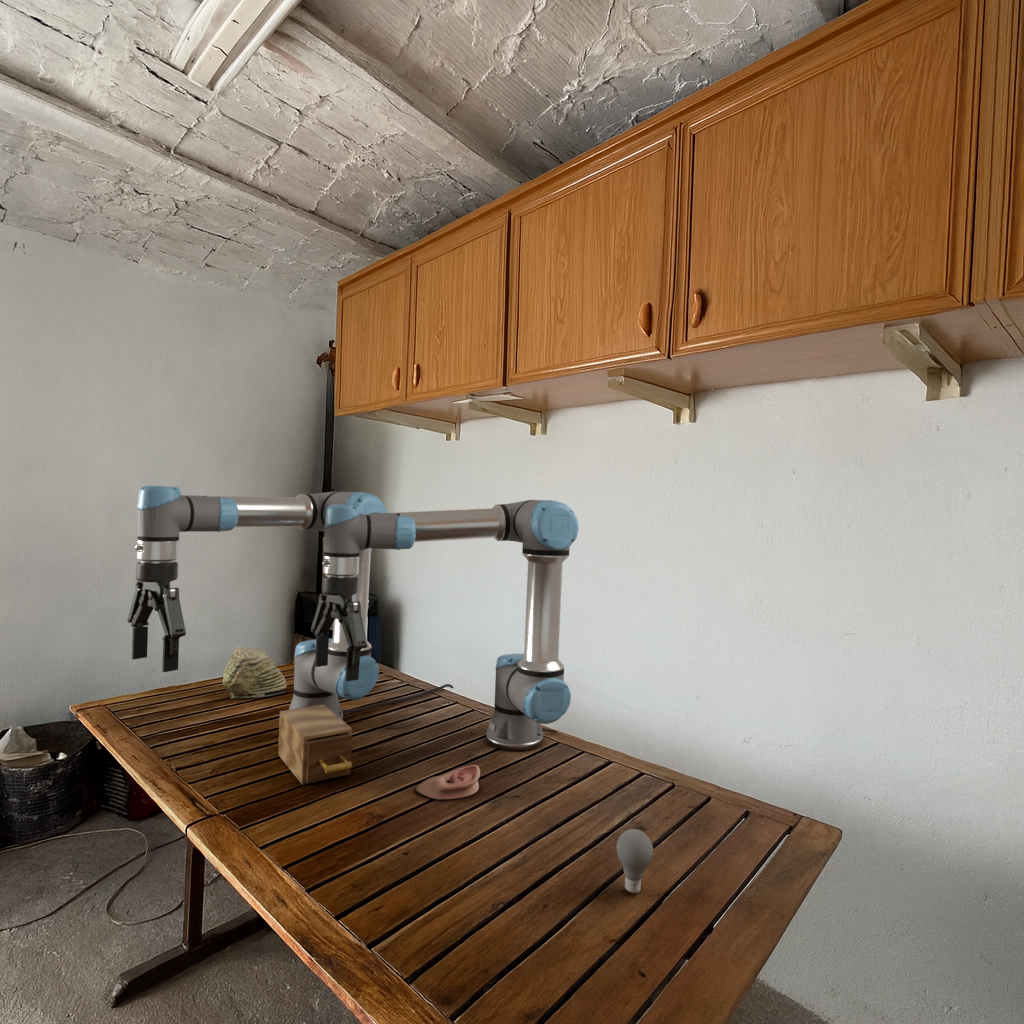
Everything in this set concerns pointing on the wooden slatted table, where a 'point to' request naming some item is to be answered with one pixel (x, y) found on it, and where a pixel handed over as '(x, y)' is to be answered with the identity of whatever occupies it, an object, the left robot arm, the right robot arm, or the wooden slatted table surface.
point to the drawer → (328, 757)
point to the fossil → (252, 674)
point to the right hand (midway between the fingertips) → (336, 672)
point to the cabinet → (305, 734)
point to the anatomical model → (452, 784)
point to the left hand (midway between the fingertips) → (154, 664)
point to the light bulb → (634, 857)
